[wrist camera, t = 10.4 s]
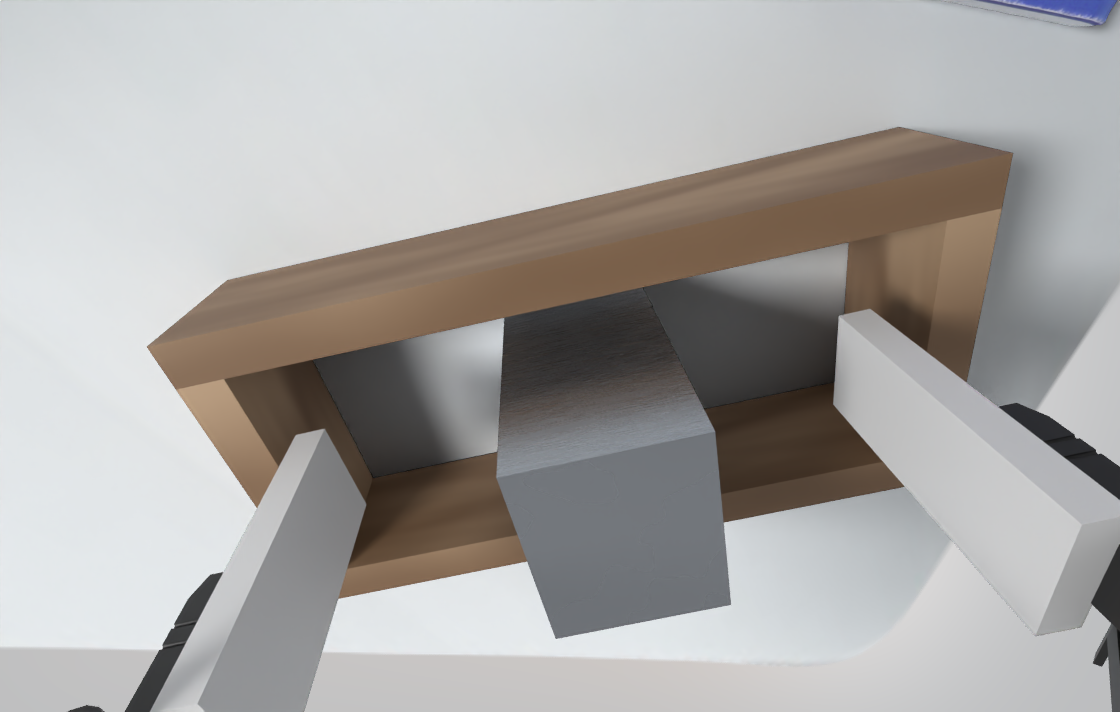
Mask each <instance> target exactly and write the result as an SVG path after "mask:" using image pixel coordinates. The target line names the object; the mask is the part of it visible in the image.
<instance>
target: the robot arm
mask: <svg viewBox="0 0 1120 712" xmlns="http://www.w3.org/2000/svg"><path fill="white" fill-rule="evenodd" d="M833 405H834V406H835V407H836V408H837V409H838V411H839V412H840V413H841V414H842V415H843V416H844V417H845V419H846V420H847V421H848V422H849V423H850V424H851V425H852V427H853V428H854V429H855V430H856V431H857V432H858V434H859V435H860V436H861V437H862V438H863V439H864V440H865V442H866V443H867V444H868V445H869V446H870V447H871V448H872V450H873V451H874V452H875V453H876V454H877V455H878V456H879V458H880V459H881V460H882V461H883V462H884V463H885V465H886V466H887V467H888V468H889V469H890V470H891V471H892V473H893V474H894V475H895V476H896V477H897V478H898V479H899V481H900V482H901V483H902V484H903V485H904V486H905V487H906V489H907V490H908V491H909V492H910V493H911V494H912V496H913V497H914V498H915V499H916V500H917V501H918V502H919V504H920V505H921V506H922V507H923V508H924V509H925V510H926V512H927V513H928V514H929V515H930V516H931V517H932V519H933V520H934V521H935V522H936V523H937V524H938V525H939V527H940V528H941V529H942V530H943V531H944V532H945V533H946V535H947V536H948V537H949V538H950V539H951V540H952V541H953V543H954V544H955V545H956V546H957V547H958V548H959V550H960V551H961V552H962V553H963V554H964V555H965V556H966V558H967V559H968V560H969V561H970V562H971V563H972V564H973V565H974V567H975V568H976V569H977V570H978V571H979V573H980V574H981V575H982V576H983V577H984V578H985V579H986V580H987V582H988V583H989V584H990V585H991V586H992V587H993V589H994V590H995V591H996V592H997V593H998V594H999V595H1000V597H1001V598H1002V599H1003V600H1004V601H1005V602H1006V604H1007V605H1008V606H1009V607H1010V608H1011V609H1012V610H1013V612H1014V613H1015V614H1016V615H1017V616H1018V617H1019V618H1020V620H1021V621H1022V622H1023V623H1024V624H1025V625H1026V627H1027V628H1028V629H1029V630H1030V631H1031V632H1032V633H1033V635H1034V636H1039V635H1044V634H1049V633H1054V632H1059V631H1065V630H1069V629H1075V628H1080V627H1082V625H1083V623H1084V620H1085V619H1086V617H1087V615H1088V613H1089V611H1090V609H1091V606H1092V605H1093V606H1094V607H1095V608H1096V609H1098V611H1099V612H1100V613H1102V615H1104V616H1105V617H1106V618H1107V619H1108V620H1109V621H1110V622H1111V623H1112V624H1111V625H1110V627H1109V629H1108V631H1107V633H1106V635H1105V637H1104V638H1103V640H1102V642H1101V644H1100V646H1099V648H1098V650H1097V652H1096V654H1095V658H1094V661H1093V664H1096V665H1099V666H1103V664H1104V662H1105V660H1106V659H1107V657H1108V660H1109V674H1110V688H1111V702H1112V712H1120V467H1119V466H1118V465H1116V464H1115V463H1114V462H1112V461H1111V460H1109V459H1108V458H1107V457H1105V456H1104V455H1102V454H1097V453H1096V450H1095V449H1094V448H1093V447H1091V446H1090V445H1088V444H1087V443H1086V442H1084V441H1083V440H1081V439H1080V438H1079V439H1076V438H1075V436H1074V434H1073V433H1071V432H1070V431H1069V430H1067V429H1066V428H1064V427H1063V426H1061V425H1060V424H1059V423H1057V422H1056V421H1055V420H1053V419H1052V418H1050V417H1049V416H1047V415H1044V414H1042V413H1039V412H1037V411H1035V410H1032V409H1030V408H1027V407H1025V406H1023V405H1020V404H1018V403H1014V404H1009V405H1004V406H1000V407H998V406H996V405H995V404H994V403H992V402H991V401H990V400H988V399H987V398H986V397H985V396H983V395H982V394H981V393H979V392H978V391H977V390H975V389H974V388H973V387H971V386H970V385H969V384H968V383H966V382H965V381H964V380H962V379H961V378H960V377H958V376H957V375H956V374H955V373H953V372H952V371H951V370H949V369H948V368H947V367H945V366H944V365H943V364H941V363H940V362H939V361H938V360H936V359H935V358H934V357H932V356H931V355H930V354H928V353H927V352H926V351H925V350H923V349H922V348H921V347H919V346H918V345H917V344H915V343H914V342H913V341H912V340H910V339H909V338H908V337H906V336H905V335H904V334H902V333H901V332H900V331H898V330H897V329H896V328H895V327H893V326H892V325H891V324H889V323H888V322H887V321H885V320H884V319H883V318H882V317H880V316H879V315H878V314H876V313H875V312H874V311H872V310H871V309H867V310H862V311H858V312H853V313H849V314H844V315H840V316H839V323H838V339H837V354H836V369H835V384H834V399H833ZM365 508H366V502H365V501H364V499H363V497H362V495H361V493H360V492H359V490H358V488H357V486H356V484H355V483H354V481H353V479H352V477H351V475H350V474H349V472H348V470H347V468H346V466H345V464H344V463H343V461H342V459H341V457H340V455H339V454H338V452H337V450H336V448H335V446H334V445H333V443H332V441H331V439H330V437H329V436H328V434H327V432H326V430H325V429H321V430H316V431H312V432H307V433H303V434H298V435H296V436H295V437H294V439H293V441H292V443H291V445H290V447H289V449H288V451H287V453H286V454H285V456H284V458H283V460H282V462H281V464H280V466H279V468H278V470H277V472H276V473H275V475H274V477H273V479H272V481H271V483H270V485H269V487H268V489H267V491H266V492H265V494H264V496H263V498H262V500H261V502H260V504H259V506H258V508H257V509H256V511H255V513H254V515H253V517H252V519H251V521H250V523H249V525H248V527H247V528H246V530H245V532H244V534H243V536H242V538H241V540H240V542H239V544H238V546H237V547H236V549H235V551H234V553H233V555H232V557H231V559H230V561H229V563H228V564H227V566H226V568H225V570H224V572H222V573H217V574H212V575H210V576H209V577H208V578H207V579H206V580H205V581H204V582H203V583H202V584H201V586H200V587H199V588H198V589H197V590H196V591H195V592H194V593H193V594H192V595H191V597H190V598H189V599H188V600H187V602H186V604H185V606H184V608H183V609H182V611H181V613H180V615H179V616H178V618H177V620H176V622H175V623H174V625H175V627H174V629H171V631H170V632H169V634H168V636H167V638H166V639H165V641H164V643H163V649H162V650H159V652H158V654H157V655H156V657H155V659H154V661H153V662H152V664H151V666H150V668H149V670H148V671H147V673H146V675H145V677H144V678H143V680H142V682H141V684H140V685H139V687H138V689H137V691H136V693H135V694H134V696H133V698H132V700H131V701H130V703H129V705H128V707H127V709H126V710H125V712H304V710H305V707H306V704H307V700H308V697H309V694H310V690H311V687H312V684H313V681H314V677H315V674H316V670H317V667H318V664H319V661H320V657H321V654H322V651H323V647H324V644H325V641H326V637H327V634H328V631H329V627H330V624H331V621H332V617H333V614H334V611H335V607H336V604H337V601H338V597H339V594H340V591H341V587H342V584H343V581H344V577H345V574H346V571H347V567H348V564H349V561H350V557H351V554H352V551H353V547H354V544H355V541H356V537H357V534H358V531H359V527H360V524H361V521H362V517H363V514H364V511H365ZM68 712H104V711H103V710H102V709H101V708H99V707H95V706H88V705H86V706H83V707H80V708H76V709H73V710H70V711H68Z"/></svg>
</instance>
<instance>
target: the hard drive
mask: <svg viewBox="0 0 1120 712" xmlns="http://www.w3.org/2000/svg"><path fill="white" fill-rule="evenodd" d="M941 1H947V2H952V3H957V4H962V5H967V6H972V7H977V8H982V9H987V10H993V11H998V12H1003V13H1008V14H1013V15H1018V16H1023V17H1028V18H1033V19H1038V20H1043V21H1048V22H1053V23H1058V24H1063V25H1068V26H1093V25H1102V24H1103V23H1105V21H1106V19H1107V17H1108V15H1109V13H1110V11H1111V9H1112V8H1113V6H1114V5H1115V3H1116V2H1117V0H941Z"/></svg>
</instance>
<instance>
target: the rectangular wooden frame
mask: <svg viewBox="0 0 1120 712" xmlns="http://www.w3.org/2000/svg"><path fill="white" fill-rule="evenodd" d="M1012 156H1013V153H1011V152H1007V151H1002V150H998V149H993V148H989V147H985V146H980V145H976V144H971V143H967V142H963V141H958V140H954V139H950V138H945V137H941V136H936V135H932V134H928V133H923V132H919V131H914V130H910V129H906V128H901V127H897V128H893V129H888V130H884V131H880V132H875V133H871V134H866V135H862V136H858V137H853V138H849V139H844V140H840V141H836V142H831V143H827V144H823V145H818V146H814V147H809V148H805V149H801V150H796V151H792V152H787V153H783V154H779V155H774V156H770V157H766V158H761V159H757V160H752V161H748V162H744V163H739V164H735V165H730V166H726V167H722V168H717V169H713V170H709V171H704V172H700V173H695V174H691V175H687V176H682V177H678V178H673V179H669V180H665V181H660V182H656V183H652V184H647V185H643V186H638V187H634V188H630V189H625V190H621V191H616V192H612V193H608V194H603V195H599V196H595V197H590V198H586V199H581V200H577V201H573V202H568V203H564V204H559V205H555V206H551V207H546V208H542V209H538V210H533V211H529V212H524V213H520V214H516V215H511V216H507V217H502V218H498V219H494V220H489V221H485V222H481V223H476V224H472V225H467V226H463V227H459V228H454V229H450V230H446V231H441V232H437V233H432V234H428V235H424V236H419V237H415V238H410V239H406V240H402V241H397V242H393V243H389V244H384V245H380V246H375V247H371V248H367V249H362V250H358V251H353V252H349V253H345V254H340V255H336V256H332V257H327V258H323V259H318V260H314V261H310V262H305V263H301V264H296V265H292V266H288V267H283V268H279V269H275V270H270V271H266V272H261V273H257V274H253V275H248V276H244V277H239V278H235V279H231V280H227V281H226V282H225V283H223V284H222V285H221V286H220V287H219V288H217V289H216V290H215V291H214V292H213V293H211V294H210V295H209V296H208V297H207V298H205V299H204V300H203V301H202V302H200V303H199V304H198V305H197V306H196V307H194V308H193V309H192V310H191V311H190V312H188V313H187V314H186V315H185V316H183V317H182V318H181V319H180V320H179V321H177V322H176V323H175V324H174V325H173V326H171V327H170V328H169V329H168V330H167V331H165V332H164V333H163V334H162V335H160V336H159V337H158V338H157V339H156V340H154V341H153V342H152V343H151V344H150V345H148V346H147V348H148V349H149V351H150V352H151V354H152V355H153V357H154V358H155V360H156V361H157V363H158V364H159V366H160V367H161V368H162V370H163V371H164V373H165V374H166V376H167V377H168V379H169V380H170V382H171V383H172V385H173V386H174V387H175V389H176V390H177V392H178V393H179V395H180V396H181V398H182V399H183V401H184V402H185V404H186V405H187V406H188V408H189V409H190V411H191V412H192V414H193V415H194V417H195V418H196V420H197V421H198V423H199V424H200V425H201V427H202V428H203V430H204V431H205V433H206V434H207V436H208V437H209V439H210V440H211V442H212V443H213V444H214V446H215V447H216V449H217V450H218V452H219V453H220V455H221V456H222V458H223V459H224V461H225V462H226V463H227V465H228V466H229V468H230V469H231V471H232V472H233V474H234V475H235V477H236V478H237V480H238V481H239V482H240V484H241V485H242V487H243V488H244V490H245V491H246V493H247V494H248V496H249V497H250V498H251V500H252V501H253V503H254V504H255V506H256V507H257V508H258V506H259V504H260V502H261V500H262V498H263V496H264V494H265V492H266V491H267V489H268V487H269V485H270V483H271V481H272V479H273V477H274V475H275V473H276V472H277V470H278V468H279V466H280V464H281V462H282V460H283V458H284V456H285V454H286V453H287V451H288V449H289V447H290V445H291V443H292V441H293V439H294V437H295V436H296V435H298V434H303V433H307V432H312V431H316V430H321V429H325V430H326V432H327V434H328V436H329V437H330V439H331V441H332V443H333V445H334V446H335V448H336V450H337V452H338V454H339V455H340V457H341V459H342V461H343V463H344V464H345V466H346V468H347V470H348V472H349V474H350V475H351V477H352V479H353V481H354V483H355V484H356V486H357V488H358V490H359V492H360V493H361V495H362V497H363V499H364V501H365V502H366V508H365V511H364V514H363V517H362V521H361V524H360V527H359V531H358V534H357V537H356V541H355V544H354V547H353V551H352V554H351V557H350V561H349V564H348V567H347V571H346V574H345V577H344V581H343V584H342V587H341V591H340V594H339V597H338V599H339V598H344V597H349V596H355V595H360V594H365V593H370V592H375V591H380V590H385V589H390V588H395V587H400V586H405V585H410V584H415V583H420V582H425V581H430V580H435V579H440V578H446V577H451V576H456V575H461V574H466V573H471V572H476V571H481V570H486V569H491V568H496V567H501V566H506V565H511V564H516V563H521V562H526V561H527V559H526V557H525V554H524V551H523V549H522V546H521V543H520V540H519V538H518V535H517V532H516V530H515V527H514V524H513V521H512V519H511V516H510V513H509V511H508V508H507V505H506V503H505V500H504V497H503V494H502V492H501V489H500V486H499V484H498V481H497V478H496V475H497V455H498V452H497V453H492V454H487V455H482V456H477V457H473V458H468V459H463V460H458V461H453V462H448V463H444V464H439V465H434V466H429V467H424V468H420V469H415V470H410V471H405V472H400V473H396V474H391V475H386V476H381V477H376V478H373V477H372V475H371V473H370V471H369V469H368V467H367V465H366V463H365V461H364V460H363V458H362V456H361V454H360V452H359V450H358V448H357V446H356V444H355V442H354V440H353V438H352V436H351V434H350V432H349V430H348V428H347V426H346V425H345V423H344V421H343V419H342V417H341V415H340V413H339V411H338V409H337V407H336V405H335V403H334V401H333V399H332V397H331V395H330V393H329V391H328V389H327V388H326V386H325V384H324V382H323V380H322V378H321V376H320V374H319V372H318V370H317V368H316V366H315V364H314V362H313V359H318V358H323V357H327V356H332V355H336V354H341V353H345V352H350V351H355V350H359V349H364V348H368V347H373V346H377V345H382V344H386V343H391V342H396V341H400V340H405V339H409V338H414V337H418V336H423V335H427V334H432V333H437V332H441V331H446V330H450V329H455V328H459V327H464V326H468V325H473V324H478V323H482V322H487V321H491V320H496V319H500V318H505V317H510V316H514V315H519V314H523V313H528V312H532V311H537V310H541V309H546V308H551V307H555V306H560V305H564V304H569V303H573V302H578V301H582V300H587V299H592V298H596V297H601V296H605V295H610V294H614V293H619V292H623V291H628V290H633V289H637V288H642V287H646V286H651V285H655V284H660V283H665V282H669V281H674V280H678V279H683V278H687V277H692V276H696V275H701V274H706V273H710V272H715V271H719V270H724V269H728V268H733V267H737V266H742V265H747V264H751V263H756V262H760V261H765V260H769V259H774V258H778V257H783V256H788V255H792V254H797V253H801V252H806V251H810V250H815V249H820V248H824V247H829V246H833V245H838V244H842V243H847V242H849V246H848V262H847V278H846V294H845V310H844V314H849V313H853V312H858V311H862V310H867V309H871V310H872V311H874V312H875V313H876V314H878V315H879V316H880V317H882V318H883V319H884V320H885V321H887V322H888V323H889V324H891V325H892V326H893V327H895V328H896V329H897V330H898V331H900V332H901V333H902V334H904V335H905V336H906V337H908V338H909V339H910V340H912V341H913V342H914V343H915V344H917V345H918V346H919V347H921V348H922V349H923V350H925V351H926V352H927V353H928V354H930V355H931V356H932V357H934V358H935V359H936V360H938V361H939V362H940V363H941V364H943V365H944V366H945V367H947V368H948V369H949V370H951V371H952V372H953V373H955V374H956V375H957V376H958V377H960V378H961V379H962V380H964V381H965V382H967V377H968V372H969V367H970V363H971V358H972V353H973V348H974V343H975V338H976V333H977V328H978V323H979V318H980V313H981V308H982V303H983V299H984V294H985V289H986V284H987V279H988V274H989V269H990V264H991V259H992V254H993V249H994V244H995V240H996V235H997V230H998V225H999V220H1000V215H1001V210H1002V205H1003V200H1004V195H1005V190H1006V185H1007V180H1008V176H1009V171H1010V166H1011V161H1012ZM834 384H835V382H834V383H829V384H824V385H819V386H814V387H809V388H805V389H800V390H795V391H790V392H785V393H781V394H776V395H771V396H766V397H761V398H757V399H752V400H747V401H742V402H737V403H732V404H728V405H723V406H718V407H713V408H708V409H704V410H705V412H706V414H707V416H708V418H709V420H710V422H711V424H712V426H713V428H714V430H715V435H716V446H717V457H718V468H719V479H720V490H721V501H722V512H723V523H724V522H729V521H734V520H739V519H744V518H749V517H754V516H759V515H764V514H769V513H774V512H779V511H784V510H789V509H794V508H800V507H805V506H810V505H815V504H820V503H825V502H830V501H835V500H840V499H845V498H850V497H855V496H860V495H865V494H870V493H875V492H880V491H886V490H891V489H896V488H901V487H905V486H904V485H903V484H902V483H901V482H900V481H899V479H898V478H897V477H896V476H895V475H894V474H893V473H892V471H891V470H890V469H889V468H888V467H887V466H886V465H885V463H884V462H883V461H882V460H881V459H880V458H879V456H878V455H877V454H876V453H875V452H874V451H873V450H872V448H871V447H870V446H869V445H868V444H867V443H866V442H865V440H864V439H863V438H862V437H861V436H860V435H859V434H858V432H857V431H856V430H855V429H854V428H853V427H852V425H851V424H850V423H849V422H848V421H847V420H846V419H845V417H844V416H843V415H842V414H841V413H840V412H839V411H838V409H837V408H836V407H835V406H834V405H833V399H834Z"/></svg>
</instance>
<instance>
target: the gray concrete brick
mask: <svg viewBox="0 0 1120 712" xmlns="http://www.w3.org/2000/svg"><path fill="white" fill-rule="evenodd" d="M496 478H497V481H498V484H499V486H500V489H501V492H502V494H503V497H504V500H505V503H506V505H507V508H508V511H509V513H510V516H511V519H512V521H513V524H514V527H515V530H516V532H517V535H518V538H519V540H520V543H521V546H522V549H523V551H524V554H525V557H526V559H527V562H528V565H529V567H530V570H531V573H532V576H533V578H534V581H535V584H536V586H537V589H538V592H539V594H540V597H541V600H542V603H543V605H544V608H545V611H546V613H547V616H548V619H549V622H550V624H551V627H552V630H553V632H554V635H555V638H556V639H558V638H563V637H568V636H573V635H578V634H583V633H588V632H594V631H599V630H604V629H609V628H614V627H619V626H624V625H629V624H635V623H640V622H645V621H650V620H655V619H660V618H665V617H671V616H676V615H681V614H686V613H691V612H696V611H701V610H706V609H712V608H717V607H722V606H727V605H731V600H730V589H729V578H728V567H727V556H726V545H725V534H724V523H723V512H722V501H721V490H720V479H719V468H718V457H717V446H716V435H715V430H714V428H713V426H712V424H711V422H710V420H709V418H708V416H707V414H706V412H705V410H704V408H703V406H702V404H701V402H700V400H699V398H698V396H697V394H696V392H695V390H694V388H693V386H692V384H691V382H690V381H689V379H688V377H687V375H686V373H685V371H684V369H683V367H682V365H681V363H680V361H679V359H678V357H677V355H676V353H675V351H674V349H673V347H672V345H671V343H670V341H669V339H668V337H667V335H666V333H665V331H664V329H663V327H662V325H661V323H660V321H659V319H658V317H657V315H656V313H655V311H654V309H653V307H652V305H651V303H650V301H649V299H648V297H647V295H646V293H645V291H644V289H643V287H642V288H637V289H633V290H628V291H623V292H619V293H614V294H610V295H605V296H601V297H596V298H592V299H587V300H582V301H578V302H573V303H569V304H564V305H560V306H555V307H551V308H546V309H541V310H537V311H532V312H528V313H523V314H519V315H514V316H510V317H505V318H504V336H503V356H502V375H501V395H500V415H499V435H498V455H497V475H496Z"/></svg>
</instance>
